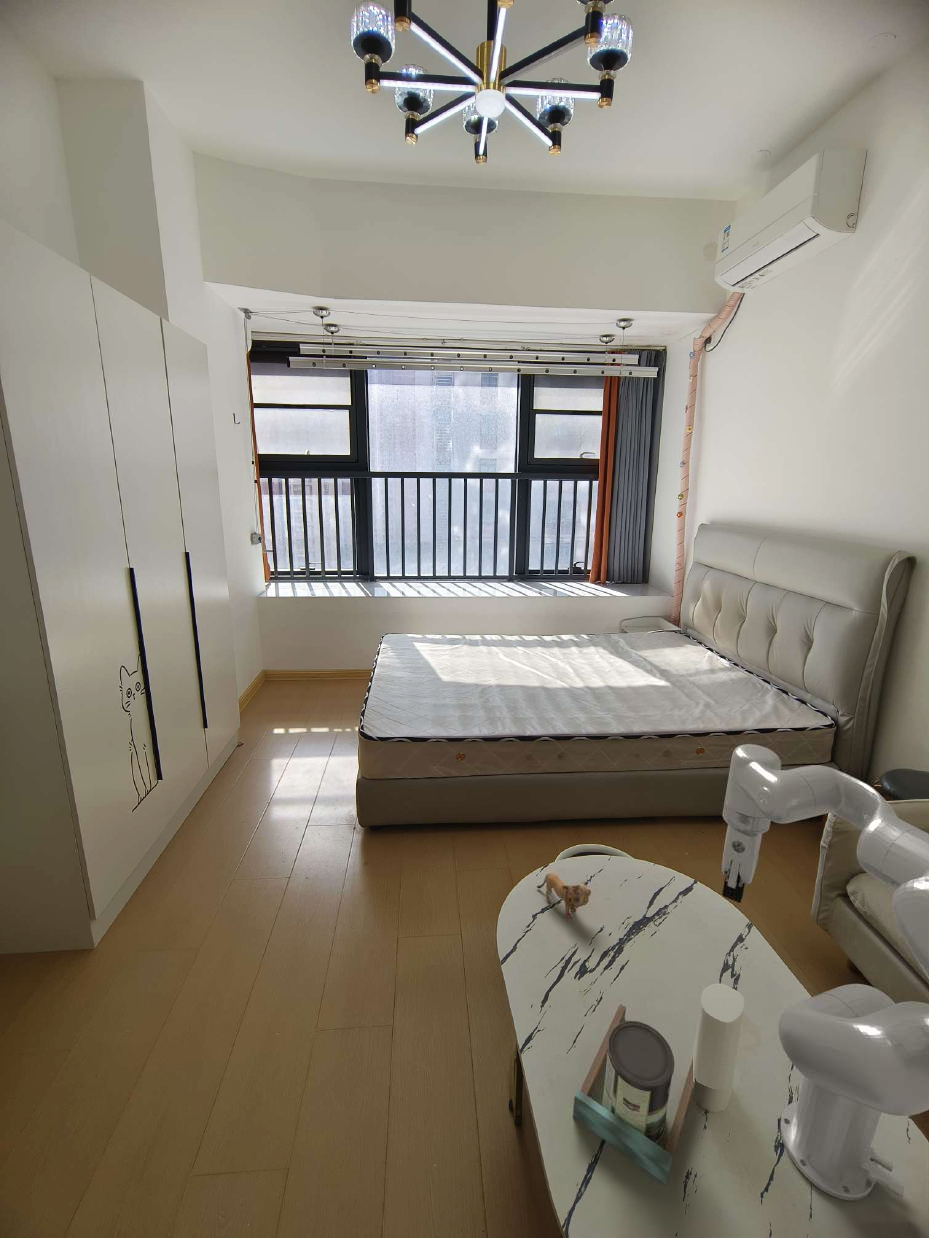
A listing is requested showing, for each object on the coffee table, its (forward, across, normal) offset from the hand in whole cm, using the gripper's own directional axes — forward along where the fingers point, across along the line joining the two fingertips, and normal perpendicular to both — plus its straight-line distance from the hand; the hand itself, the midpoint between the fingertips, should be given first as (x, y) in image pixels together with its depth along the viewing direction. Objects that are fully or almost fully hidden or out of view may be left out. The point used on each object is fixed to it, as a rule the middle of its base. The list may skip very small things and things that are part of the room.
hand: (732, 896), depth 102 cm
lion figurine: (+27, +6, +36) cm, 46 cm away
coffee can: (+27, -28, +7) cm, 40 cm away
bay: (+27, -23, +7) cm, 36 cm away
